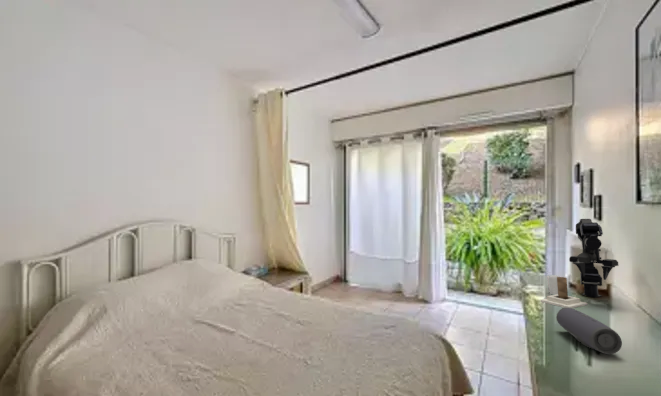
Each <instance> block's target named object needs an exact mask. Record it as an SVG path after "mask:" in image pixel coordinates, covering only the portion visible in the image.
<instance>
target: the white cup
mask: <svg viewBox="0 0 661 396" xmlns="http://www.w3.org/2000/svg"><path fill="white" fill-rule="evenodd" d="M557 277H563V276H561V275H547V284H548V285H547V286H548V291H549V292H550V293H551V294H555V295H556V294H558V286H557ZM550 293H549V294H550ZM551 294H550V295H551Z"/></svg>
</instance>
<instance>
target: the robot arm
mask: <svg viewBox="0 0 661 396" xmlns="http://www.w3.org/2000/svg"><path fill="white" fill-rule="evenodd" d="M575 234H576V235H577V238H578V240H580V242H581V248H582V252H581V253H580V254H578V255H572V256H570V257H569V259H568V260H569V262H570V263H572V264H573V265H574V266H576V267H577V268H578V271H579V273H580V275H579V276H580V278H579V279H580V282H579V283H580V285H583V290H584V291H583V293H581V296H584V295H586V297H590V298H595V299H596V298H599V297H602V296H603V295H601V294H599V289H598V287H602V286H603V280H604V281H606V280H607V278H608V276H609V275H610V272H611V271H612V269H613V268H615V267H619V261H618V260H617V259H610V258H606V259H605V258H604V259H602V257H600V252H601V246H602V241H601V240H600V238H599V237H602V235H604V232H603V228H602V226H601V224H599V223H598V221H597V222H592V218H579V221H578V223H576V224H575ZM595 264H601V268H602V276H601V274H600V273H599V269H598V268H597V267H595Z"/></svg>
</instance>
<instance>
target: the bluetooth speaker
mask: <svg viewBox="0 0 661 396" xmlns="http://www.w3.org/2000/svg"><path fill="white" fill-rule="evenodd" d="M556 321H557V323H558V324H559V326H560V327H562V328H563V330H565V331H567V333H569V334H570V335H571V336H572V337H574V338H575V340H576V341H578V342H579V343H580V342H581V343H580V344H582V345H583V344H584V346H585V347H586V346H587V347H586V348H588V347H589V348H588V349H590V348H592V349H591V350H593V349H595V351H597V352H600V353H601V354H605V355H613V354H616V353H618V352H619V351H620V350H621V349H622V347H623V346H622V345H623V341H622V338H621V337H620V336H621V335H620V334H619V333H618V332H617V331H615V330H614V329H612V328H611V327H609V326H608V325H606V324H605V323H603V322H601V321H599V320H598V319H595V318H594V317H592V316H590V315H588V314H586V313H584V312H582V311H581V310H580V311H579V310H578V309H576V308H564V307H561V308H560V309H559V310H558V311H557V314H556Z"/></svg>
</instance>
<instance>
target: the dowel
mask: <svg viewBox="0 0 661 396" xmlns="http://www.w3.org/2000/svg"><path fill="white" fill-rule="evenodd" d="M557 286H558V298H561V299H565V300H566V299H568V296H569V295H568V293H569V292H568V281H567V277H566V276H565V277H564V276H562V277H557Z"/></svg>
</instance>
